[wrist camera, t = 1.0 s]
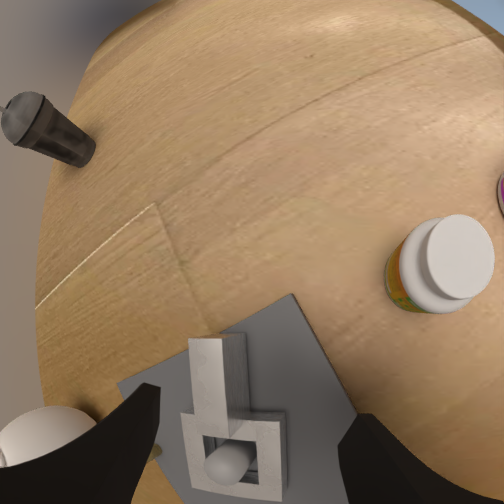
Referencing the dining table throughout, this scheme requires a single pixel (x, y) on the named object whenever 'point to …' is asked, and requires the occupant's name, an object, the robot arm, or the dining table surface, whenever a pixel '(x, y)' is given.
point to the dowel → (154, 452)
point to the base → (263, 400)
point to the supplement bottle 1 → (440, 265)
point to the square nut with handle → (231, 419)
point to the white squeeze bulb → (41, 433)
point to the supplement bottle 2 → (501, 192)
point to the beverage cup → (45, 130)
